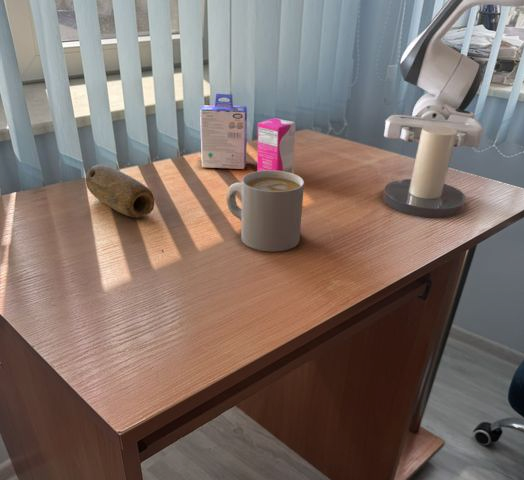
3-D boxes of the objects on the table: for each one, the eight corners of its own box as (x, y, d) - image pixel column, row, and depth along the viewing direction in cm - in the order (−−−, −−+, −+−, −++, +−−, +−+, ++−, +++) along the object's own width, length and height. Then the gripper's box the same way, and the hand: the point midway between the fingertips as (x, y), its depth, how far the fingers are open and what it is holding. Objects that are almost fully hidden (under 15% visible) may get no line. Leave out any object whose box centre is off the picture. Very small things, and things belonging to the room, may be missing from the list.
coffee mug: (310, 238, 89) (316, 180, 83) (273, 257, 83) (277, 197, 77) (253, 215, 96) (254, 161, 90) (215, 232, 90) (213, 174, 84)
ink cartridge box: (246, 162, 120) (247, 93, 111) (245, 170, 116) (246, 99, 107) (204, 160, 120) (201, 91, 111) (201, 168, 116) (198, 97, 107)
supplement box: (272, 171, 116) (274, 116, 109) (293, 178, 113) (297, 122, 106) (255, 178, 112) (257, 121, 105) (277, 185, 109) (280, 127, 102)
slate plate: (437, 185, 113) (439, 176, 112) (480, 214, 101) (483, 205, 99) (370, 189, 109) (371, 181, 108) (405, 220, 97) (407, 211, 96)
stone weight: (81, 202, 98) (75, 166, 94) (112, 192, 103) (107, 158, 98) (131, 226, 91) (126, 188, 87) (162, 214, 95) (159, 178, 91)
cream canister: (431, 186, 107) (445, 124, 100) (447, 197, 102) (464, 134, 95) (403, 188, 105) (415, 125, 98) (418, 200, 101) (433, 135, 93)
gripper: (387, 104, 117) (384, 119, 107) (482, 113, 114) (488, 129, 103) (382, 133, 121) (379, 150, 110) (473, 143, 118) (479, 161, 107)
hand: (432, 140), depth 107 cm, fingers open, 8 cm apart
